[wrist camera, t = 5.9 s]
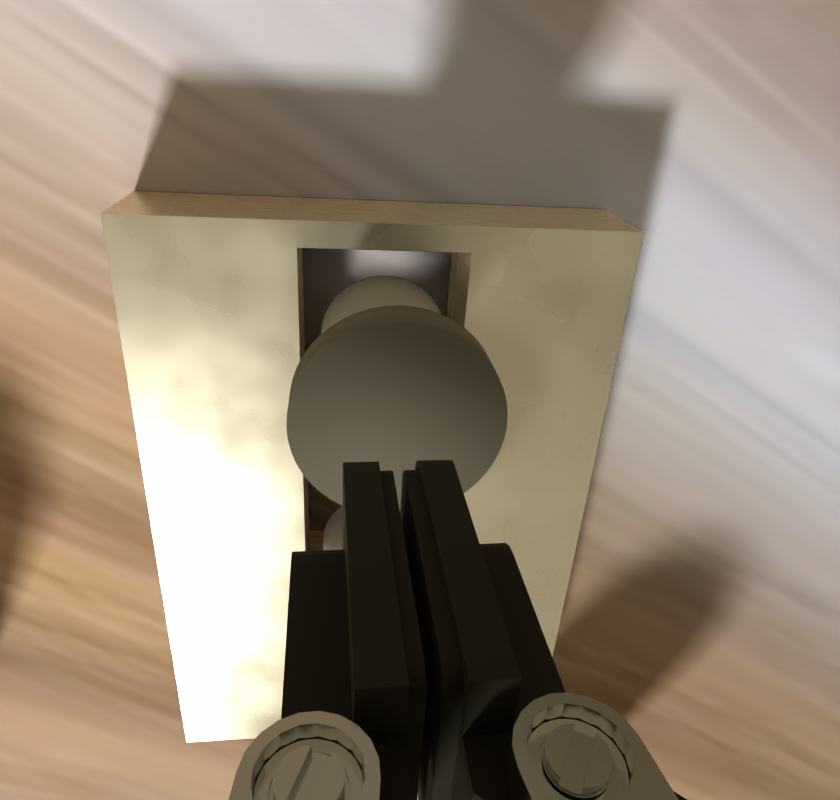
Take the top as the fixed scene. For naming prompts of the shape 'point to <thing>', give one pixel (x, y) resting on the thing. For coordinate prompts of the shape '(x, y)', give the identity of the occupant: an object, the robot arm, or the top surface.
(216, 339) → the mount
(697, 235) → the top surface
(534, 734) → the robot arm
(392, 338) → the knob gray
